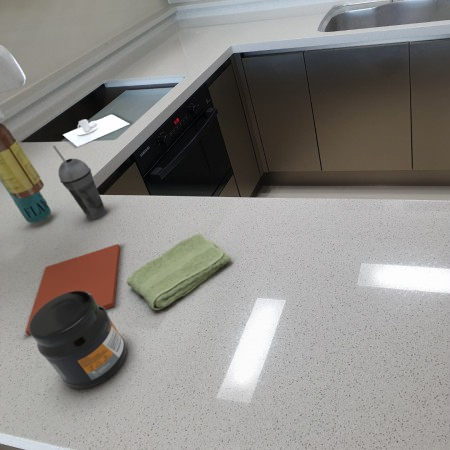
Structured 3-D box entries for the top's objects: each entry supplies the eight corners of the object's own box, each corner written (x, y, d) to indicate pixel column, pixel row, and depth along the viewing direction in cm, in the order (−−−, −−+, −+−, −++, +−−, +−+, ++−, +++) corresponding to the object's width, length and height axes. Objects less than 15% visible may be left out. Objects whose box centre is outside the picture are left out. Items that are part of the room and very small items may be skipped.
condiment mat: (28, 335, 84) (25, 331, 84) (47, 270, 100) (45, 266, 100) (114, 306, 86) (112, 302, 85) (120, 247, 102) (118, 243, 102)
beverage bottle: (32, 231, 116) (-14, 162, 105) (27, 222, 121) (-18, 155, 110) (57, 218, 119) (15, 150, 108) (51, 210, 124) (10, 143, 112)
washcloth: (236, 261, 90) (231, 249, 88) (158, 317, 81) (151, 304, 79) (200, 239, 98) (195, 227, 96) (126, 287, 90) (119, 275, 88)
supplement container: (140, 355, 75) (108, 303, 68) (81, 403, 69) (40, 352, 62) (110, 328, 81) (78, 279, 74) (54, 370, 76) (14, 321, 69)
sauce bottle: (34, 182, 97) (-21, 91, 86) (51, 185, 94) (-4, 92, 83) (6, 198, 93) (-56, 106, 82) (23, 203, 90) (-39, 107, 79)
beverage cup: (117, 208, 117) (80, 137, 106) (94, 224, 113) (53, 152, 101) (99, 204, 121) (62, 135, 110) (76, 220, 116) (35, 149, 105)
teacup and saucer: (96, 124, 176) (91, 114, 174) (103, 128, 171) (98, 117, 168) (74, 133, 173) (69, 123, 170) (80, 137, 167) (75, 127, 165)
